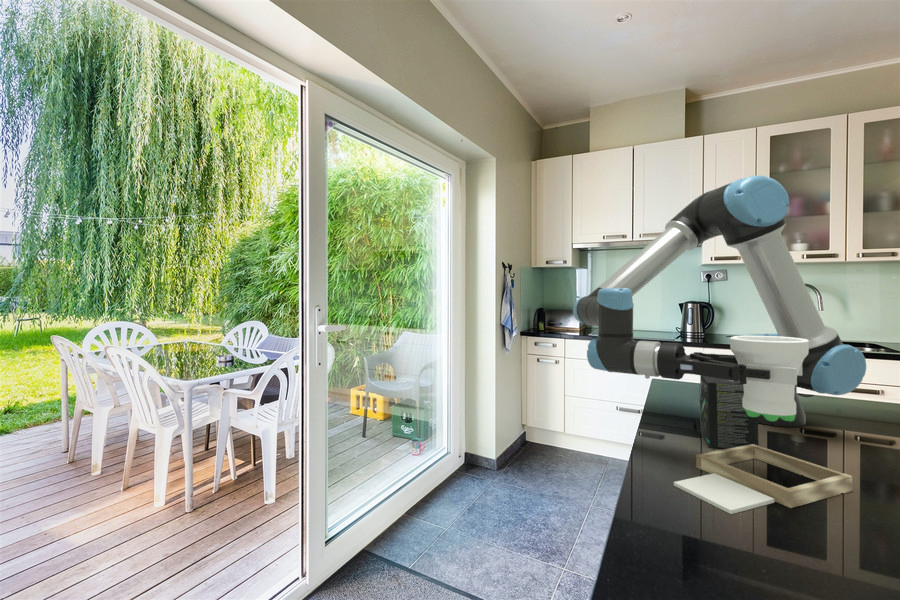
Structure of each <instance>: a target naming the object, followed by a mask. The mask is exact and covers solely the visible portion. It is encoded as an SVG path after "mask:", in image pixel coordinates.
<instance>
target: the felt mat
mask: <svg viewBox="0 0 900 600" xmlns="http://www.w3.org/2000/svg"><path fill="white" fill-rule="evenodd" d="M673 486H674V487H676V488H678V489H680V490H682V491H683V492H685V493H688V494H690V495H692V496H694V497H696V498H697V499H700V500H701V501H704V502H706V503H708V504H710V505H711V506H714V507H715V508H717V509H719V510H722V511H723V512H725V513H728V514H729V515H733V514H737V513H741V512H744V511H748V510H752V509H755V508H759V507H763V506H768V505H770V504H774V503H775V499H774V498H771V497H769V496H767V495H764V494H762V493H760V492H757V491H755V490H753V489H750V488H748V487H746V486H743V485H741V484H739V483H736V482H734V481H731V480H729V479H727V478H724V477H722V476H720V475H717V474H715V473H713V474H710V473H708V474H704V475H701V476H695V477H691V478H687V479H686V478H685V479H682V480H681V479H680V480H677V481H676V480H675V481H673Z"/></svg>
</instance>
